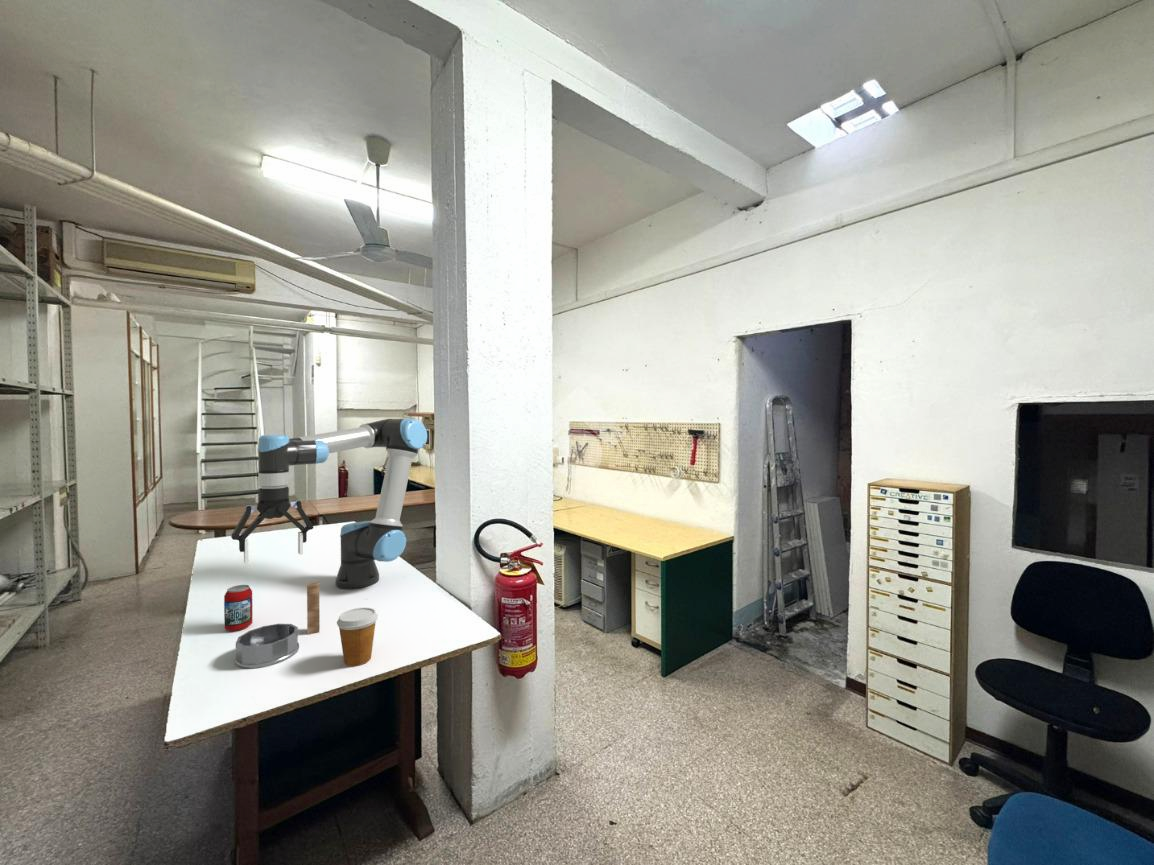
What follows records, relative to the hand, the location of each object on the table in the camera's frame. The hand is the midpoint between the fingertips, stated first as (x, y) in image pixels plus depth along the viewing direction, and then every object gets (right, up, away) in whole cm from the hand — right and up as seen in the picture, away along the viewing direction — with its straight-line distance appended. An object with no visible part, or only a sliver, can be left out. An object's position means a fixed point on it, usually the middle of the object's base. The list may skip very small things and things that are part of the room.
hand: (274, 558), depth 135 cm
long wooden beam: (+13, -21, -1) cm, 25 cm away
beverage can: (-11, -21, +1) cm, 24 cm away
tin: (+8, -21, -15) cm, 27 cm away
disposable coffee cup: (+33, -22, -18) cm, 44 cm away
